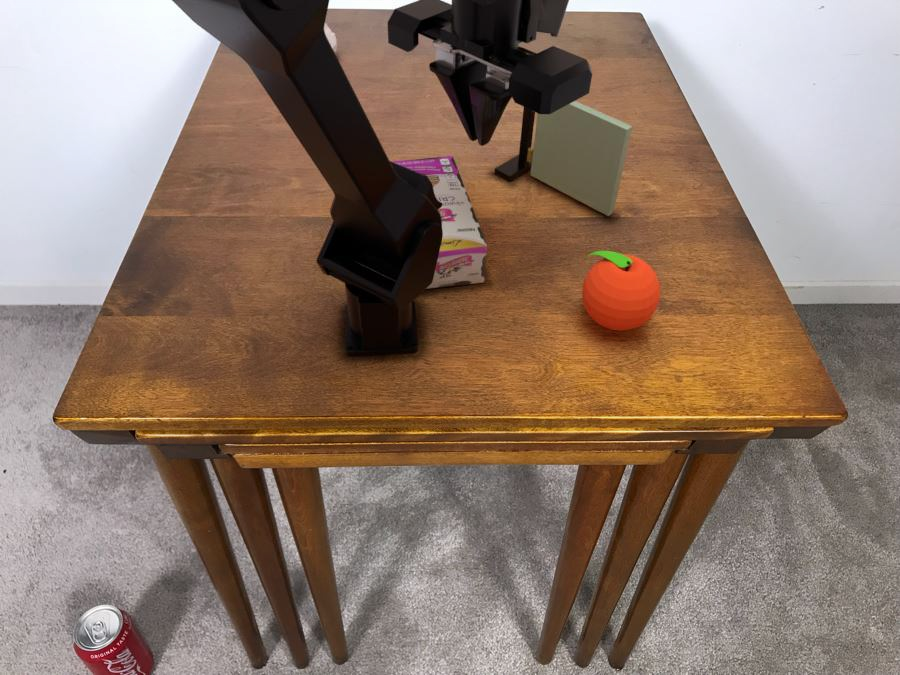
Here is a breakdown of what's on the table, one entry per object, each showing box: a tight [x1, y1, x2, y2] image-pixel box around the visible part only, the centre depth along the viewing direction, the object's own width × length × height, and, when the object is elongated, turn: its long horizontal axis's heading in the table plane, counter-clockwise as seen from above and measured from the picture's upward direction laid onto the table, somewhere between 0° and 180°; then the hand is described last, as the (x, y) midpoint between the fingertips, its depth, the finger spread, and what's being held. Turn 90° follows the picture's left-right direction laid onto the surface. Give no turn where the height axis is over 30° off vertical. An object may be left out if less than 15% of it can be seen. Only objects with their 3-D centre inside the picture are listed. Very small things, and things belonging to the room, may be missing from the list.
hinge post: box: [494, 107, 536, 183], centre depth 81 cm, size 6×3×12 cm, turn 135°
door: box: [529, 100, 633, 217], centre depth 78 cm, size 1×11×10 cm, turn 45°
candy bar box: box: [391, 155, 488, 290], centre depth 73 cm, size 11×5×16 cm
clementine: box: [581, 250, 661, 331], centre depth 65 cm, size 8×7×7 cm
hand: (479, 141), depth 66 cm, fingers closed
